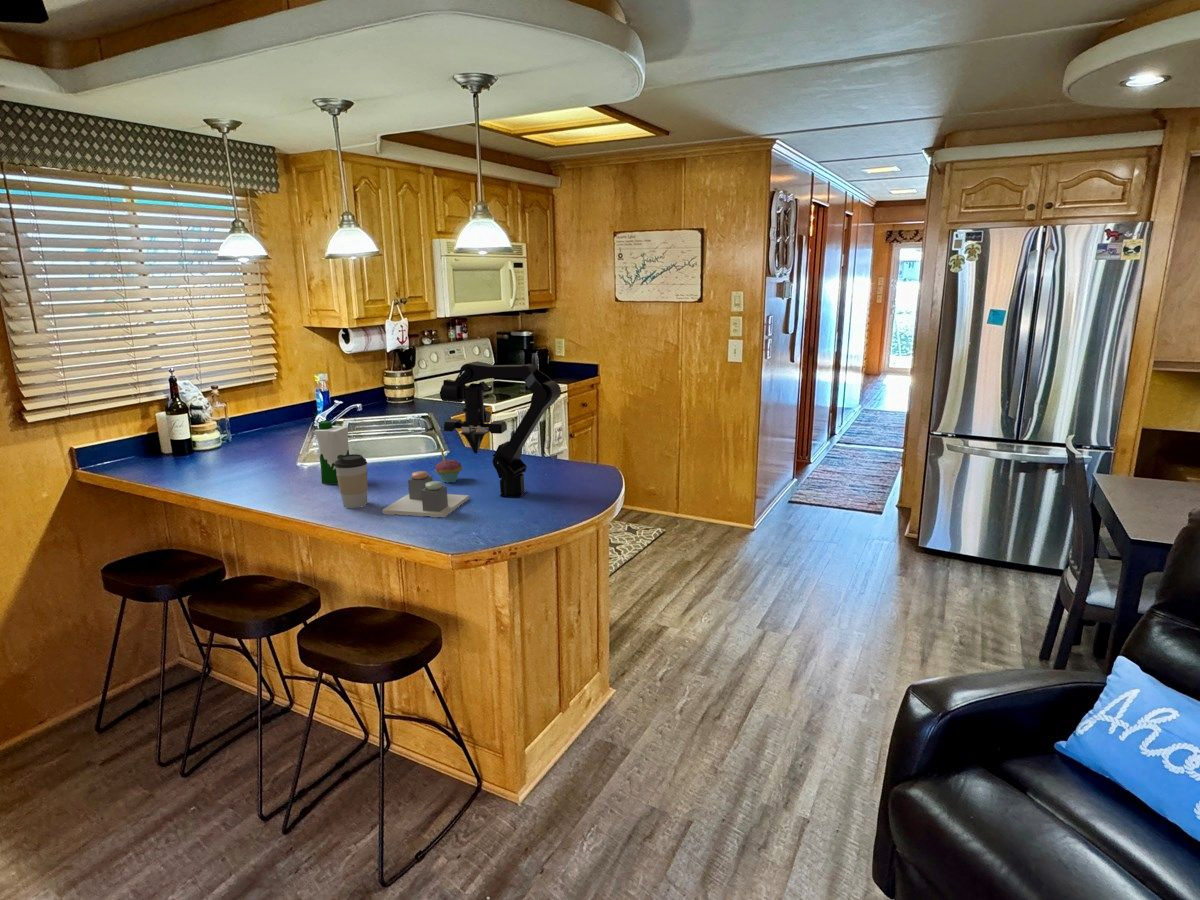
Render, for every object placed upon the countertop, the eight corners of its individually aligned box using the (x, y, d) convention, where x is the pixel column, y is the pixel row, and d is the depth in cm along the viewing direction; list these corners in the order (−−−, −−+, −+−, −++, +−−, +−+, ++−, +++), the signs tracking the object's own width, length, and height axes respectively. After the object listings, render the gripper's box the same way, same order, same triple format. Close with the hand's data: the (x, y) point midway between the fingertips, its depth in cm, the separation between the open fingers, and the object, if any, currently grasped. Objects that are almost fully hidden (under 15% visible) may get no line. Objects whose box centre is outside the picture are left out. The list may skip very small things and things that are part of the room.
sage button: (446, 504, 198) (444, 481, 196) (439, 509, 194) (437, 486, 192) (431, 503, 199) (429, 480, 197) (424, 508, 195) (422, 485, 193)
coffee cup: (360, 497, 211) (355, 450, 207) (377, 503, 205) (372, 454, 202) (333, 505, 204) (327, 456, 201) (350, 511, 199) (344, 461, 195)
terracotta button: (432, 493, 208) (430, 471, 207) (425, 498, 204) (423, 475, 202) (418, 492, 210) (416, 470, 208) (410, 497, 205) (408, 475, 204)
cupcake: (436, 485, 222) (433, 449, 219) (435, 478, 230) (432, 443, 227) (463, 483, 224) (461, 447, 222) (461, 476, 232) (459, 441, 229)
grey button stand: (469, 499, 208) (467, 476, 206) (444, 518, 192) (442, 493, 190) (411, 495, 212) (409, 473, 211) (382, 513, 196) (380, 489, 195)
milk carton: (332, 476, 234) (326, 419, 229) (356, 478, 232) (350, 419, 228) (317, 484, 226) (310, 424, 221) (342, 485, 224) (335, 425, 219)
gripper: (511, 400, 215) (513, 448, 219) (455, 398, 219) (458, 445, 223) (500, 406, 205) (501, 457, 209) (441, 404, 208) (443, 454, 212)
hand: (476, 453), depth 213 cm, fingers closed
